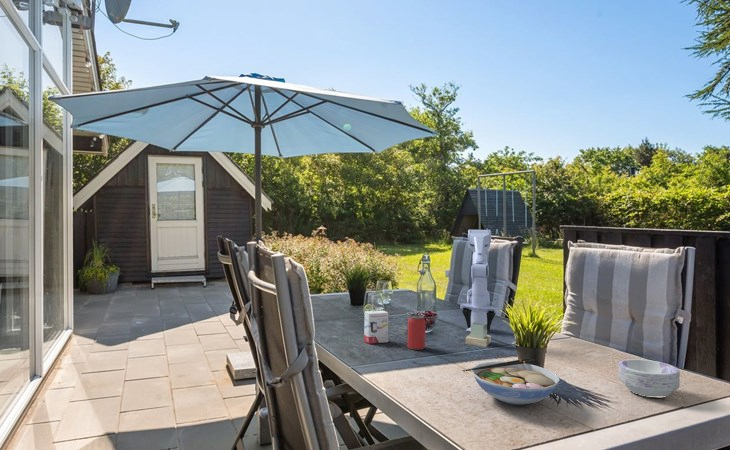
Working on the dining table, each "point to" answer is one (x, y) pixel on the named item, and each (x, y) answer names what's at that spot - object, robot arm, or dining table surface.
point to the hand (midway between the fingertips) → (478, 328)
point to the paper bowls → (648, 377)
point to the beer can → (416, 332)
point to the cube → (479, 330)
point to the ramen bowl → (515, 381)
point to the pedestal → (478, 341)
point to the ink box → (376, 327)
